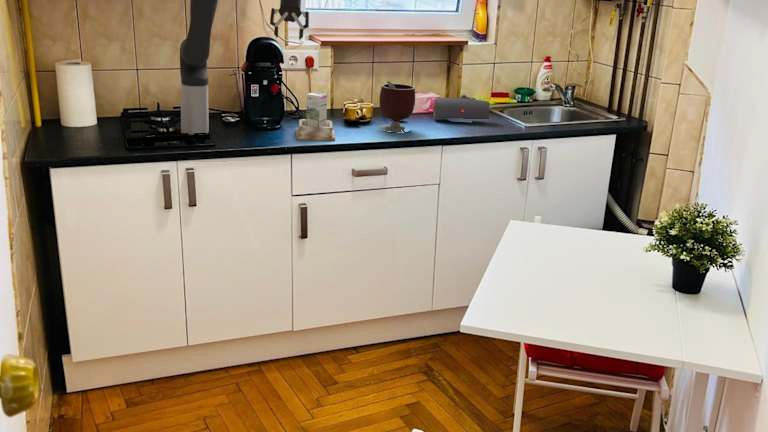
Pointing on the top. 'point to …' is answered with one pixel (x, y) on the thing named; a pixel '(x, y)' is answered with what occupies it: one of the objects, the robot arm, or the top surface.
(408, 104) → the mate gourd
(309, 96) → the syrup box
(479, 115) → the bluetooth speaker
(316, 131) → the beige square tray
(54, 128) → the top surface
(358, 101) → the tin
